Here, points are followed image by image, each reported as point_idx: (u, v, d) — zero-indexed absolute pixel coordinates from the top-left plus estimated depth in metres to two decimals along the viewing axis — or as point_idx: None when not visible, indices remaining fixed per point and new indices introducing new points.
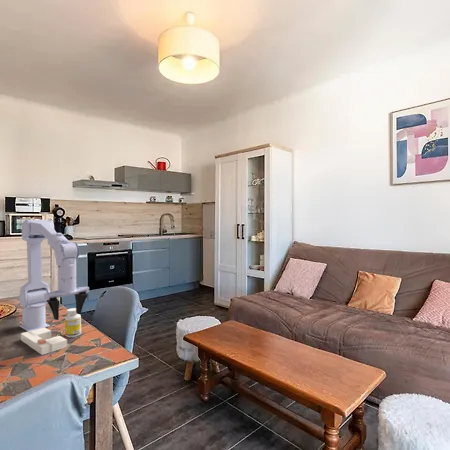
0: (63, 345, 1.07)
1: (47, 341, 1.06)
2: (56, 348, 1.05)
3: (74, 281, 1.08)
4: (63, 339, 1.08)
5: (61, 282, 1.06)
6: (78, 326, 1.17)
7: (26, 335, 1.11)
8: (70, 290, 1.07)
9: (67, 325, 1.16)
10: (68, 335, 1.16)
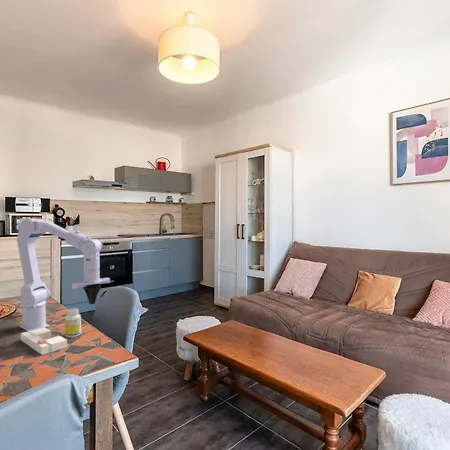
0: (63, 345, 1.07)
1: (47, 341, 1.06)
2: (56, 348, 1.05)
3: (98, 272, 1.23)
4: (63, 339, 1.08)
5: (87, 273, 1.21)
6: (78, 326, 1.17)
7: (26, 335, 1.11)
8: (95, 280, 1.22)
9: (67, 325, 1.16)
10: (68, 335, 1.16)
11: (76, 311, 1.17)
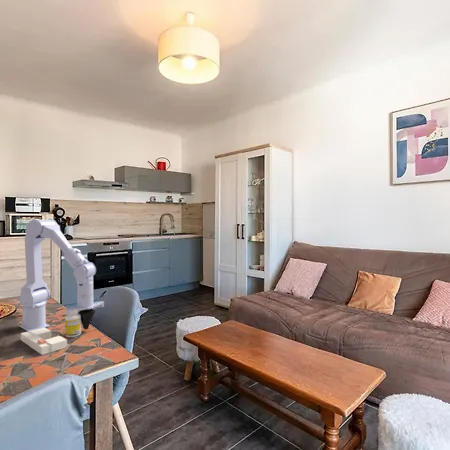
0: (63, 345, 1.07)
1: (47, 341, 1.06)
2: (56, 348, 1.05)
3: (91, 297, 1.21)
4: (63, 339, 1.08)
5: (80, 298, 1.19)
6: (78, 326, 1.17)
7: (26, 335, 1.11)
8: (88, 305, 1.20)
9: (67, 325, 1.16)
10: (68, 335, 1.16)
11: (76, 311, 1.17)
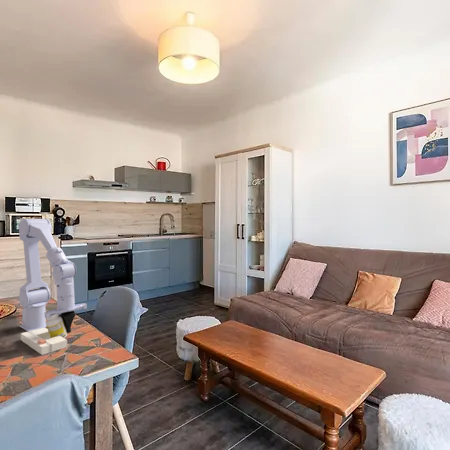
0: (63, 345, 1.07)
1: (47, 341, 1.06)
2: (56, 348, 1.05)
3: (72, 299, 1.15)
4: (63, 339, 1.08)
5: (60, 300, 1.13)
6: (61, 330, 1.12)
7: (26, 335, 1.11)
8: (69, 307, 1.14)
9: (49, 331, 1.11)
10: None
11: (54, 316, 1.11)
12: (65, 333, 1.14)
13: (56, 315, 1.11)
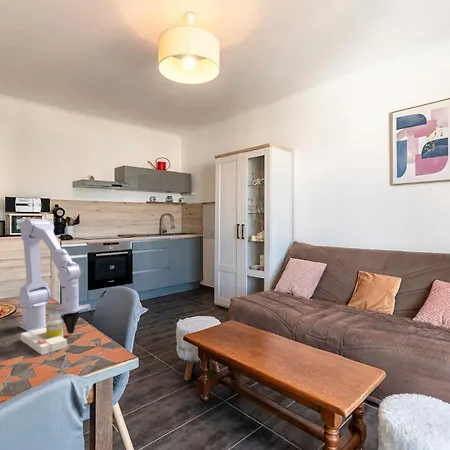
0: (63, 345, 1.07)
1: (47, 341, 1.06)
2: (56, 348, 1.05)
3: (76, 300, 1.17)
4: (63, 339, 1.08)
5: (64, 302, 1.15)
6: (59, 331, 1.12)
7: (26, 335, 1.11)
8: (73, 309, 1.16)
9: (48, 330, 1.11)
10: None
11: (58, 315, 1.12)
12: (62, 336, 1.13)
13: (59, 315, 1.13)
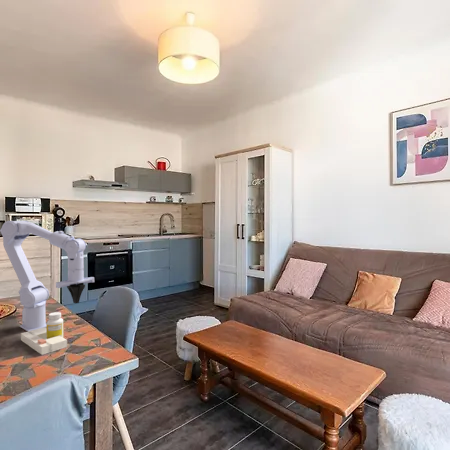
0: (63, 345, 1.07)
1: (47, 341, 1.06)
2: (56, 348, 1.05)
3: (82, 272, 1.24)
4: (63, 339, 1.08)
5: (71, 272, 1.22)
6: (59, 331, 1.12)
7: (26, 335, 1.11)
8: (78, 279, 1.23)
9: (48, 330, 1.11)
10: None
11: (58, 315, 1.12)
12: (62, 336, 1.13)
13: (59, 315, 1.13)
